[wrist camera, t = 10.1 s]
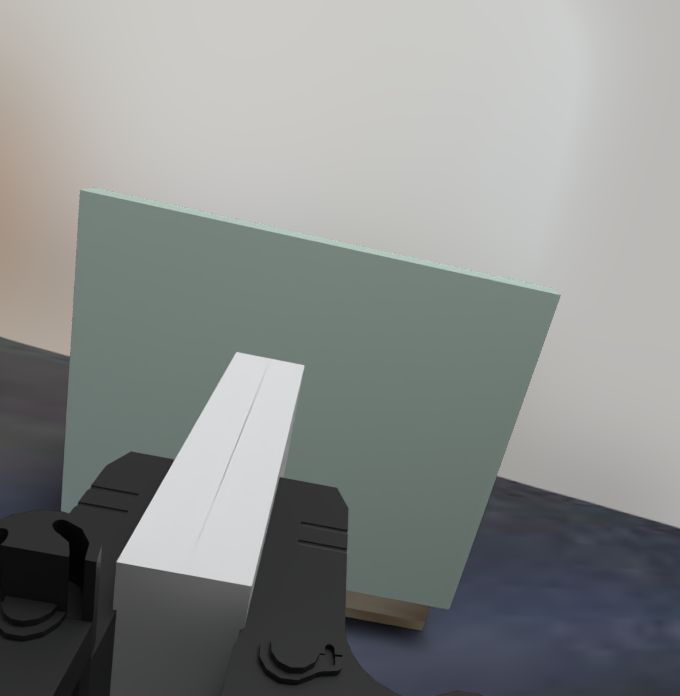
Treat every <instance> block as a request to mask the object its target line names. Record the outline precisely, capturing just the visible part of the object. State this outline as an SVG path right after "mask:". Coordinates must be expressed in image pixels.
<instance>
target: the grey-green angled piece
mask: <svg viewBox="0 0 680 696" xmlns="http://www.w3.org/2000/svg"><path fill="white" fill-rule="evenodd" d="M77 234H78V235H77V250H76V268H75V284H74V301H73V317H72V335H71V352H70V367H69V384H68V400H67V417H66V434H65V450H64V467H63V484H62V500H61V511H63V512H66V513H70V512H71V510H72V509H73V508H74V507H75V506H77V505H78V501H79V500H80V499H81V497H82V496H83V495H84V494H85V492H86V491H87V490H88V489H90V488H91V484H92V483H93V482H94V481H95V479H96V478H97V477H98V475H99V474H100V473H101V471H102V470H103V469H104V468H105V466H106V465H108V464H110V463H111V462H113V461H115V460H117V459H118V458H120V457H122V456H124V455H125V454H127V453H129V452H131V451H132V452H138V453H143V454H148V455H154V456H159V457H164V458H170V459H176V457H177V455H178V453H179V452H180V450H181V448H182V446H183V445H184V443H185V441H186V439H187V438H188V436H189V434H190V432H191V431H192V429H193V427H194V425H195V424H196V422H197V420H198V418H199V417H200V415H201V413H202V411H203V410H204V408H205V406H206V404H207V403H208V401H209V399H210V397H211V396H212V394H213V392H214V390H215V389H216V387H217V385H218V383H219V382H220V380H221V378H222V376H223V375H224V373H225V371H226V369H227V368H228V366H229V364H230V362H231V361H232V359H233V357H234V355H235V354H236V352H239V353H244V354H249V355H254V356H259V357H265V358H270V359H275V360H280V361H285V362H290V363H295V364H300V365H305V367H304V372H303V377H302V382H301V388H300V393H299V398H298V403H297V409H296V414H295V419H294V424H293V430H292V435H291V440H290V445H289V451H288V456H287V461H286V466H285V472H284V476H283V478H288V479H293V480H298V481H304V482H309V483H314V484H320V485H325V486H331V487H336V488H338V490H339V492H340V494H341V496H342V497H343V499H344V501H345V503H346V505H347V506H348V508H349V510H348V532H347V534H348V543H347V577H346V590H348V591H353V592H358V593H363V594H369V595H374V596H379V597H385V598H390V599H395V600H400V601H406V602H411V603H416V604H421V605H427V606H432V607H437V608H443V609H448V610H449V609H450V606H451V603H452V600H453V597H454V595H455V592H456V589H457V586H458V583H459V581H460V578H461V575H462V572H463V569H464V566H465V564H466V561H467V558H468V555H469V552H470V550H471V547H472V544H473V541H474V538H475V535H476V533H477V530H478V527H479V524H480V521H481V519H482V516H483V513H484V510H485V507H486V504H487V502H488V499H489V496H490V493H491V490H492V488H493V485H494V482H495V479H496V476H497V473H498V471H499V468H500V465H501V462H502V459H503V456H504V454H505V451H506V448H507V445H508V442H509V440H510V437H511V434H512V431H513V428H514V426H515V422H516V420H517V417H518V414H519V411H520V409H521V406H522V403H523V400H524V397H525V395H526V392H527V389H528V386H529V383H530V381H531V378H532V375H533V372H534V369H535V366H536V364H537V361H538V358H539V355H540V352H541V350H542V347H543V344H544V341H545V338H546V335H547V333H548V330H549V327H550V324H551V321H552V318H553V316H554V313H555V310H556V307H557V304H558V302H559V299H560V294H558V293H557V292H556V291H554V290H553V289H551V288H549V287H545V286H540V285H535V284H531V283H527V282H522V281H517V280H513V279H508V278H504V277H499V276H495V275H490V274H485V273H481V272H477V271H472V270H467V269H463V268H458V267H453V266H449V265H445V264H440V263H435V262H431V261H426V260H422V259H417V258H413V257H408V256H404V255H399V254H395V253H390V252H385V251H381V250H376V249H372V248H367V247H363V246H358V245H354V244H349V243H344V242H340V241H335V240H331V239H326V238H322V237H317V236H312V235H308V234H303V233H299V232H294V231H290V230H285V229H281V228H276V227H272V226H267V225H262V224H258V223H253V222H249V221H244V220H240V219H235V218H230V217H226V216H221V215H217V214H212V213H208V212H203V211H198V210H194V209H190V208H185V207H180V206H176V205H171V204H167V203H162V202H158V201H153V200H149V199H144V198H139V197H135V196H130V195H126V194H121V193H117V192H112V191H108V190H103V189H98V188H94V187H93V188H88V189H82V190H80V200H79V218H78V233H77Z"/></svg>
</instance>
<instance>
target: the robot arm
mask: <svg viewBox="0 0 680 696" xmlns="http://www.w3.org/2000/svg"><path fill="white" fill-rule="evenodd" d="M304 367H305V365H300V364H295V363H290V362H285V361H280V360H275V359H270V358H265V357H259V356H254V355H249V354H244V353H239V352H236V354H235V355H234V357H233V359H232V361H231V362H230V364H229V366H228V368H227V369H226V371H225V373H224V375H223V376H222V378H221V380H220V382H219V383H218V385H217V387H216V389H215V390H214V392H213V394H212V396H211V397H210V399H209V401H208V403H207V404H206V406H205V408H204V410H203V411H202V413H201V415H200V417H199V418H198V420H197V422H196V424H195V425H194V427H193V429H192V431H191V432H190V434H189V436H188V438H187V439H186V441H185V443H184V445H183V446H182V448H181V450H180V452H179V453H178V455H177V457H176V459H170V458H164V457H159V456H154V455H148V454H143V453H138V452H132V451H131V452H129V453H127V454H125V455H124V456H122V457H120V458H118V459H117V460H115V461H113V462H111V463H110V464H108V465H106V466H105V468H104V469H103V470H102V471H101V473H100V474H99V475H98V477H97V478H96V479H95V481H94V482H93V483H92V484H91V488H90V489H88V490H87V491H86V492H85V494H84V495H83V496H82V497H81V499H80V500H79V501H78V505H77V506H75V507H74V508H73V509H72V510H71V512H70V513H66V512H63V511H45V510H36V511H30V512H24V513H18V514H12V515H10V516H7V517H5V518H2V519H0V696H401V695H399V694H397V693H395V692H393V691H391V690H390V689H388V688H386V687H385V686H383V685H382V684H380V683H378V682H377V681H375V680H374V679H373V678H372V677H371V676H370V675H369V674H368V673H367V672H366V671H365V670H364V669H363V668H362V667H361V666H360V664H359V663H358V662H357V660H356V659H355V657H354V656H353V654H352V652H351V650H350V647H349V645H348V642H347V639H346V630H345V610H346V577H347V543H348V534H347V532H348V510H349V508H348V506H347V505H346V503H345V501H344V499H343V497H342V496H341V494H340V492H339V490H338V488H336V487H331V486H325V485H320V484H314V483H309V482H304V481H298V480H293V479H288V478H283V476H284V472H285V466H286V461H287V456H288V451H289V445H290V440H291V435H292V430H293V424H294V419H295V414H296V409H297V403H298V398H299V393H300V388H301V382H302V377H303V372H304ZM438 696H483V695H480V694H477V693H470V692H463V691H453V692H449V693H445V694H442V695H438Z"/></svg>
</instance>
